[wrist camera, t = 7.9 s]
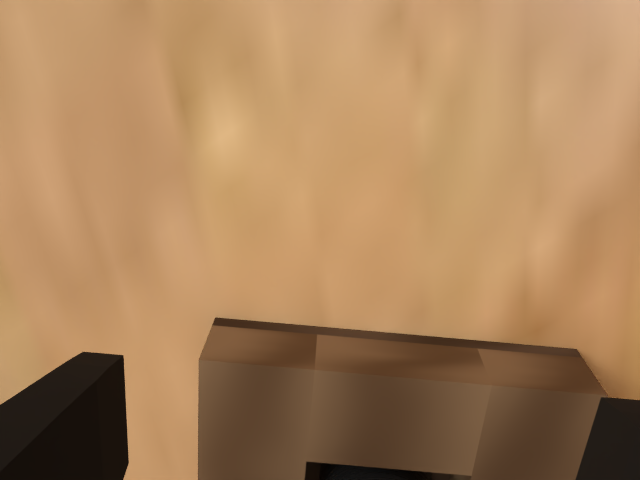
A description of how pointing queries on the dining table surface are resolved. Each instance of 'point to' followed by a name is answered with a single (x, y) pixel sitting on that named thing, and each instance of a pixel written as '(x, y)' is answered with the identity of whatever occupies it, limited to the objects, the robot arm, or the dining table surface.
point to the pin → (368, 473)
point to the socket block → (388, 404)
